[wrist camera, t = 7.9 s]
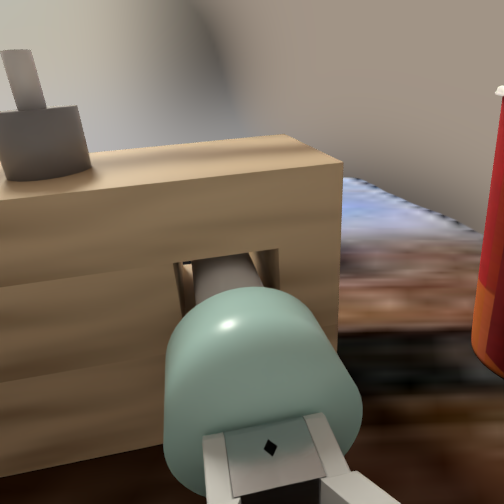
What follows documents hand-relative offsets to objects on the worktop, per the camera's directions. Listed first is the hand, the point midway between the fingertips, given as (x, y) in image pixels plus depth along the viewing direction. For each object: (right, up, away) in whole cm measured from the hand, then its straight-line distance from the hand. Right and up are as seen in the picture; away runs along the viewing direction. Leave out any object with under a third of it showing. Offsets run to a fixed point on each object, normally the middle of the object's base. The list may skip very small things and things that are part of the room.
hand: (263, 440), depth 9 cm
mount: (-8, -3, +11) cm, 14 cm away
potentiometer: (-9, +8, +6) cm, 13 cm away
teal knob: (-1, 0, +7) cm, 7 cm away
